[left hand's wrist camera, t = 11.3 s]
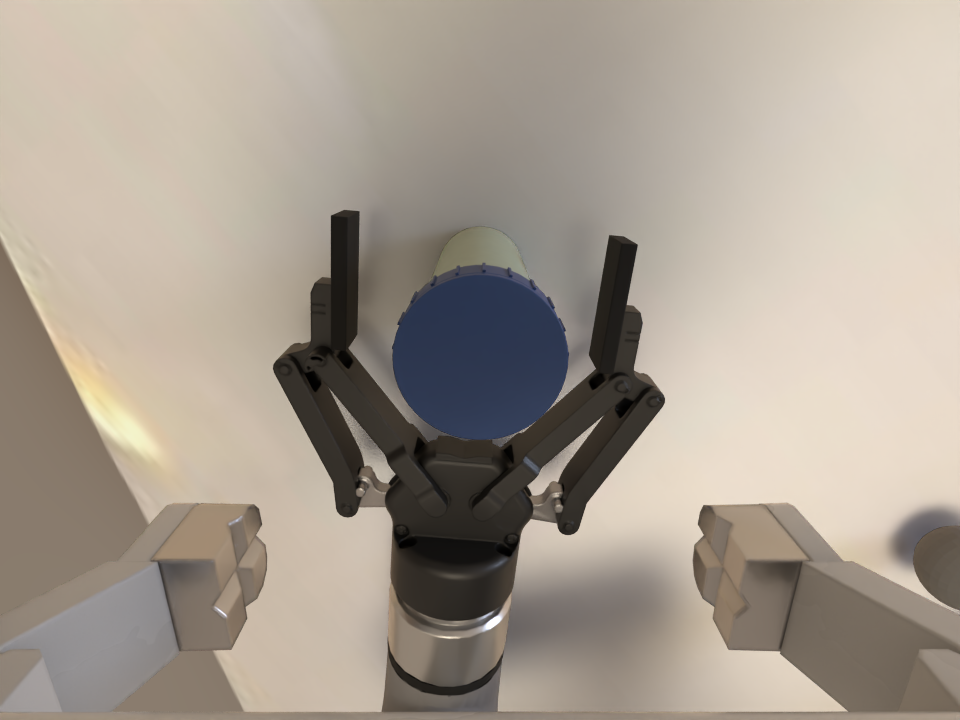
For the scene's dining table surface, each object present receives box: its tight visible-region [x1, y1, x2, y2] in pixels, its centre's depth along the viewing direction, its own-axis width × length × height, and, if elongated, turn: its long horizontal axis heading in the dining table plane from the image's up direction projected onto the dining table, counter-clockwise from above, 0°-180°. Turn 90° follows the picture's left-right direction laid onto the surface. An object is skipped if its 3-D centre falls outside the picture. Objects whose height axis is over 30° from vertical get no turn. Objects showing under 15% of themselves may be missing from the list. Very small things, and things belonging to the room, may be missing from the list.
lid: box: [392, 263, 569, 440], centre depth 20 cm, size 6×6×2 cm
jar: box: [431, 227, 530, 280], centre depth 27 cm, size 5×5×16 cm
